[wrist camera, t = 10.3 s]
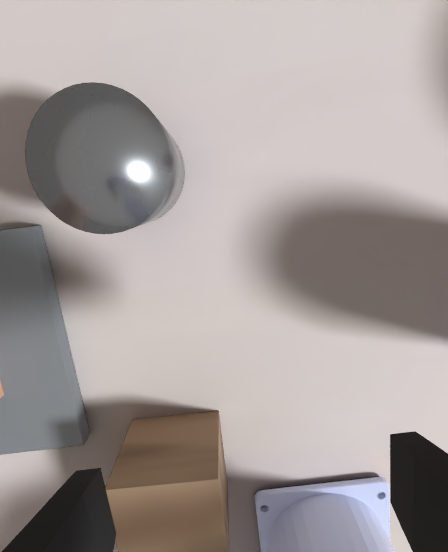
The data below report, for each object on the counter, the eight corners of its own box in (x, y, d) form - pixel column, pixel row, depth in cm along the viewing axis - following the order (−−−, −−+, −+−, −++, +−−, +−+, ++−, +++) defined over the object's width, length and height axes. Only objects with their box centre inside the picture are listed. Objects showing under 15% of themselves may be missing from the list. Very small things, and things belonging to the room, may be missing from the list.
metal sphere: (191, 216, 17) (180, 225, 13) (93, 229, 17) (44, 241, 13) (176, 110, 16) (158, 73, 11) (71, 123, 16) (8, 92, 11)
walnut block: (227, 482, 21) (229, 568, 16) (145, 490, 21) (123, 578, 16) (218, 409, 20) (218, 479, 15) (132, 418, 20) (104, 490, 15)
